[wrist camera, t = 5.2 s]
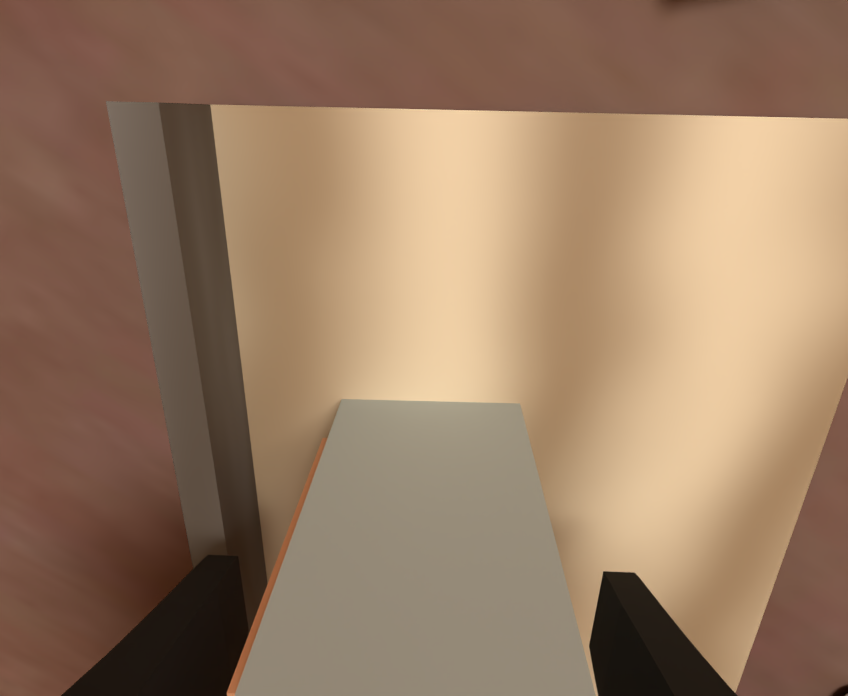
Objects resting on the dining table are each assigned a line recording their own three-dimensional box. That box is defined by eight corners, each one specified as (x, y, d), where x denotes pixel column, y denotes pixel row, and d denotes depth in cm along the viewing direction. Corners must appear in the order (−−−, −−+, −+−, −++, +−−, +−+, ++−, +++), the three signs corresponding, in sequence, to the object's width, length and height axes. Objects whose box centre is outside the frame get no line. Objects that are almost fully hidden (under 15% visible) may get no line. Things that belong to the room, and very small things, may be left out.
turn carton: (519, 403, 12) (602, 720, 6) (502, 602, 15) (547, 984, 8) (330, 398, 12) (208, 703, 6) (343, 596, 15) (265, 969, 8)
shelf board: (888, 120, 11) (1052, 121, 8) (660, 826, 20) (697, 946, 17) (186, 104, 11) (95, 101, 8) (281, 806, 21) (254, 921, 18)
